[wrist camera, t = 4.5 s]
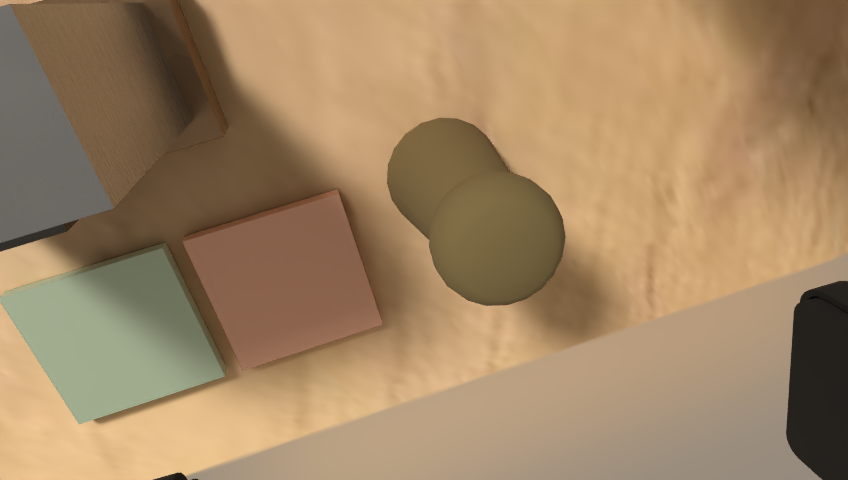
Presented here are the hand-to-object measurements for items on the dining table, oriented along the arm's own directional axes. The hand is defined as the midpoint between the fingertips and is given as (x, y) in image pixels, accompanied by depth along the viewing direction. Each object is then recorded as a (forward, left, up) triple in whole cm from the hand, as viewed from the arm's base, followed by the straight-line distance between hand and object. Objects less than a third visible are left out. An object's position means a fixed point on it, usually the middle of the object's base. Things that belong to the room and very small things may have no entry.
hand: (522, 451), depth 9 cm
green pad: (+15, +6, -23) cm, 28 cm away
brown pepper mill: (-3, +3, -23) cm, 23 cm away
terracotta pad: (+6, +6, -23) cm, 24 cm away
